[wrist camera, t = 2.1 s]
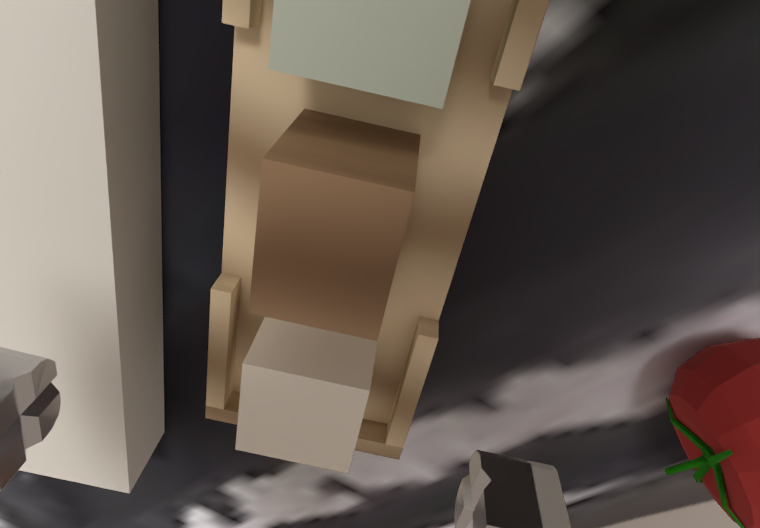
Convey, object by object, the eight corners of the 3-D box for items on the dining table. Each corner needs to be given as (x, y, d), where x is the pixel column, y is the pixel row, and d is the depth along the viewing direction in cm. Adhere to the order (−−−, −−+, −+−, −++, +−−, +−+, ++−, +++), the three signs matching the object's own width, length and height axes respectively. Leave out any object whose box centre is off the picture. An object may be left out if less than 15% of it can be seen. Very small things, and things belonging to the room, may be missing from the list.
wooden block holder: (280, -261, 15) (160, -417, 9) (583, -188, 16) (690, -289, 9) (233, 361, 28) (169, 490, 21) (403, 398, 28) (392, 537, 21)
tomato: (1019, 519, 16) (760, 602, 17) (872, 507, 23) (695, 566, 24) (835, 284, 19) (629, 363, 20) (756, 336, 26) (606, 393, 27)
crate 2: (276, 292, 22) (242, 363, 18) (381, 315, 22) (369, 390, 18) (267, 371, 24) (235, 449, 20) (362, 392, 24) (348, 473, 20)
